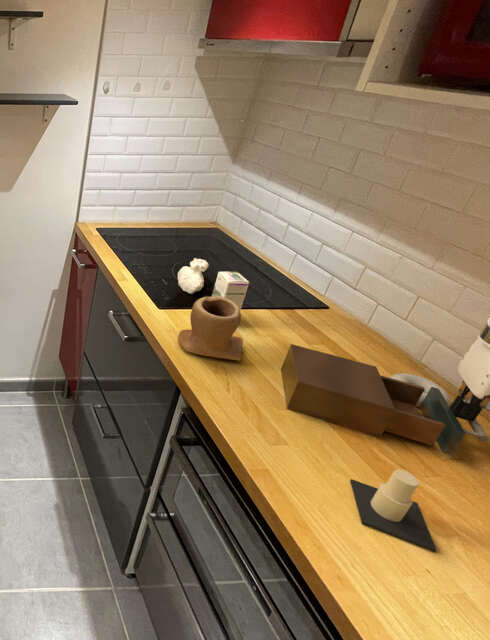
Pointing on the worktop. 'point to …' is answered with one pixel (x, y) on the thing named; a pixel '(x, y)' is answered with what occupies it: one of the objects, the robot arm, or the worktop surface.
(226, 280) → the syrup box
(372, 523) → the mat
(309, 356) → the cabinet
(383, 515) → the cream stepped cylinder
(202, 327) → the stone cup
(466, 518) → the worktop surface
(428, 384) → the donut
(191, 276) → the white lumpy blob
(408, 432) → the drawer
